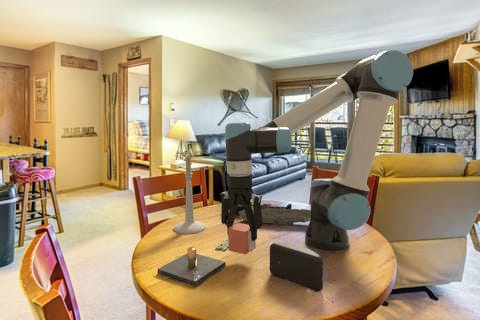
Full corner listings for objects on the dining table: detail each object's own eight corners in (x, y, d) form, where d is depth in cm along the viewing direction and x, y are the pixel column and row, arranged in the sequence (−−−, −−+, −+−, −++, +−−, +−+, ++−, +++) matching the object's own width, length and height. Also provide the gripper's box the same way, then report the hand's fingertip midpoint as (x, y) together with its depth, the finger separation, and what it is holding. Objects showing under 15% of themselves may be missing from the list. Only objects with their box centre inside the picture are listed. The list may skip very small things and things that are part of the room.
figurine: (284, 209, 135) (219, 196, 144) (282, 229, 136) (217, 215, 146) (293, 198, 153) (235, 187, 163) (291, 216, 154) (233, 205, 164)
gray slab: (225, 266, 96) (225, 245, 95) (195, 286, 84) (195, 263, 84) (189, 256, 103) (189, 237, 103) (157, 273, 92) (156, 252, 91)
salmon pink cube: (255, 247, 100) (254, 225, 99) (245, 254, 95) (245, 231, 94) (239, 244, 103) (238, 223, 102) (228, 250, 98) (228, 228, 97)
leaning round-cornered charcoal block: (328, 287, 84) (329, 253, 82) (320, 295, 80) (321, 259, 79) (277, 269, 94) (277, 238, 93) (268, 274, 91) (268, 242, 90)
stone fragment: (235, 214, 133) (237, 205, 137) (238, 226, 140) (239, 216, 143) (313, 219, 128) (312, 208, 131) (311, 230, 134) (311, 220, 137)
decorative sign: (235, 223, 134) (258, 226, 131) (235, 225, 134) (258, 228, 131) (206, 246, 110) (233, 250, 106) (206, 249, 110) (233, 253, 106)
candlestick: (176, 235, 123) (173, 157, 119) (172, 225, 135) (169, 154, 131) (208, 231, 127) (207, 156, 123) (202, 222, 139) (200, 153, 135)
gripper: (206, 174, 98) (210, 247, 101) (261, 178, 88) (264, 258, 91) (220, 170, 104) (224, 239, 107) (273, 173, 94) (275, 249, 97)
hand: (242, 247), depth 99 cm, fingers closed on salmon pink cube, 6 cm apart
